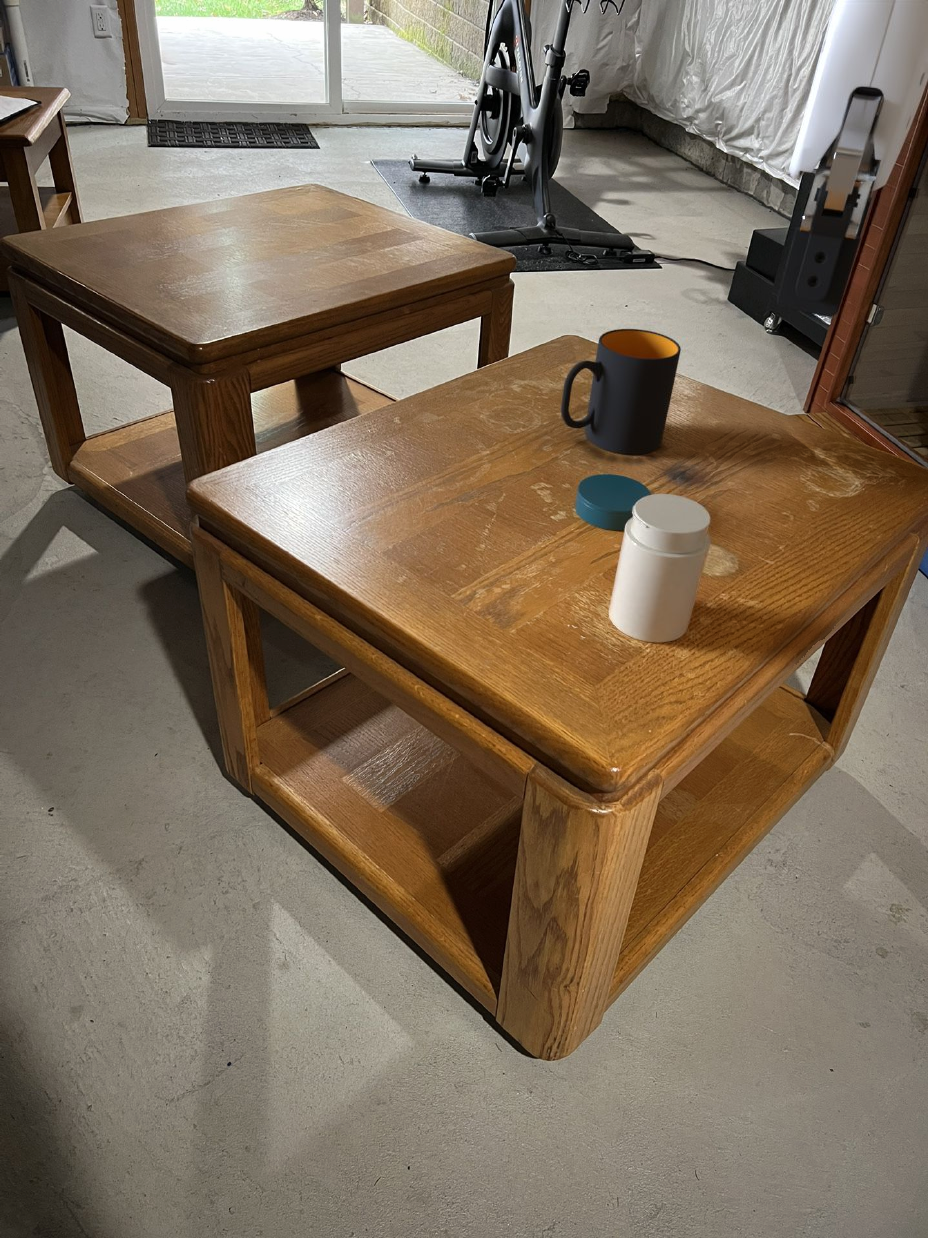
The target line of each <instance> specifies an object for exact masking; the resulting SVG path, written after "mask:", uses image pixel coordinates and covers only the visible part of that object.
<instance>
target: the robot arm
mask: <svg viewBox="0 0 928 1238" xmlns="http://www.w3.org/2000/svg"><path fill="white" fill-rule="evenodd" d="M927 83H928V0H834V2H833V6H832V9H831V12H830V16H829V20H828V24H827V27H826V31H825V34H824V38H823V42H822V46H821V49H820V53H819V57H818V61H817V64H816V68H815V72H814V75H813V80H812V83H811V88H810V91H809V95H808V99H807V103H806V106H805V109H804V114H803V117H802V121H801V125H800V128H799V132H798V135H797V138H796V139H797V140H796V142H795V146H794V150H793V153H792V157H791V161H790V163H789V168H788V172H789V174H790V176H791V178H793V180H796V181H800V180H801V178H802V177H803V175H804V173H813V172H814V170H815V168H816V167H817V166H818V167H817V169H816V171H815V173H814V174H815V177H814V178H813V182H812V186H811V188H810V189H811V190H810V192H809V196H808V199H807V203H806V206H805V209H804V212H803V216H802V219H801V223H800V226H796V227H795V229H794V234H793V238H792V242H791V245H790V249H789V252H788V256H787V261H786V264H785V267H784V271H783V275H782V279H781V283H780V287H779V289H778V295H777V298H776V303H777V305H778V307H780V308H782V309H787V310H792V311H797V312H803V313H808V314H812V315H819V316H824V317H834V316H836V315H837V314H838V313H839V310H840V307H841V304H842V301H843V297H844V294H845V291H846V288H847V284H848V281H849V278H850V275H851V272H852V268H853V265H854V262H855V259H856V255H857V252H858V249H859V245H860V242H861V239H862V236H861V235H862V232H863V229H864V225H865V222H866V219H867V216H868V213H869V210H870V206H871V202H872V200H873V197H872V196H869V195H870V192H874V191H876V190H879V189H881V188H882V187H884V186H885V185H887V182H888V180H889V177H890V175H891V173H892V171H893V169H894V166H895V164H896V162H897V160H898V157H899V155H900V153H901V152H902V151H901V150H902V148H903V147H904V146H903V145H904V144H905V141H906V140H907V139H906V138H907V137H908V134H909V132H910V130H911V127H912V124H913V121H914V120H915V116H916V114H917V110H918V108H919V106H920V103H921V100H922V97H923V94H924V92H925V89H926V86H927Z"/></svg>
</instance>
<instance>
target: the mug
mask: <svg viewBox="0 0 928 1238" xmlns="http://www.w3.org/2000/svg"><path fill="white" fill-rule="evenodd" d="M681 351H682V350H681V345H680V344H679V342H677V341H676V340H675V339H673V338H671V337H669V336H667V335H666V334H665V335H664V334H662V333H658V332H656V331H651V330H647V329H638V328H618V329H612V330H608V331H606V332H604V333H602V334H601V335H600V336H599V338H598V342H597V348H596V356H595V361H592V360H582V361H579V362H578V363H576V364H575V365H573V367H572V368H571V369H570V370H569V372H568V374H566V375H567V376H566V378H565V379H564V383H563V390H562V396H561V404H560V414H561V418H562V421H563V422H564V424H565V425H566V426H567V427H568V428H572V429H582V428H584V435H585V438H586V439H587V441H588V442H590V444H592V445H593V446H595V447H597V448H598V449H601V450H604V451H607V452H610V453H614V454H620V455H627V456H635V455H636V456H638V455H644V454H649V453H653V452H654V451H656V450H657V449H659V448H660V446H662V443H663V437H664V432H665V428H666V423H667V419H668V415H669V409H670V405H671V401H672V400H671V399H672V394H673V390H674V386H675V380H676V375H677V372H678V371H677V370H678V366H679V361H680V356H681ZM585 369H587V370H589V371H590V372H591V373H592V382H591V389H590V394H589V402H588V406H587V408H588V409H587V413H586V414H587V415H586V416H585V417H584V418H583V419H580V420H574V419H573V418H572V416H571V415H570V404H571V403H570V402H571V395H572V388H573V383H574V381H575V379H576V377H577V376H578V374H579V373H581V372H582V371H583V370H585Z"/></svg>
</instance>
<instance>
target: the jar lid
mask: <svg viewBox="0 0 928 1238" xmlns="http://www.w3.org/2000/svg"><path fill="white" fill-rule="evenodd" d="M576 491H577V492H576V498H575V504H574V505H575V506H574V509H575V512H576V514H577V516H578V517H579V518H580V519H581V520H582V521H584V522H586V523H588V524H589V525H591V526H593V527H596V528H599V529H603V530H607V531H619V532H622V531H624V530H625V526H626V523H627V522H628V521H629V520H630V519H631V518H632V517H633V514H632V510H633V506H634V505H635V504H636V502H638V501H639V500H640V499H641V498H643V497H646V496H649V495H652V491H650V490H649V488H648V487H647V485H644V484H643V483H642V482H640V481H638V480H636V479H634V478H631V477H628V476H624V475H621V474H612V473H600V474H593V475H590V476H587V477H585V478H583V479H582V480H581V481H580V482H579V484H578V485H577V490H576Z"/></svg>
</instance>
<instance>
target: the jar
mask: <svg viewBox="0 0 928 1238" xmlns="http://www.w3.org/2000/svg"><path fill="white" fill-rule="evenodd" d="M632 514H633V517H632V518H631V519H630V520H629V521H628V522H627V523H626V526H625V530H623V534H622V535H623V536H622V541H621V546H620V551H619V557H618V562H617V567H616V572H615V575H614V576H615V577H614V580H613V581H614V582H613V586H612V591H611V596H610V597H611V598H610V601H609V606H608V617H609V620H610V622H611V624H613V626H614V627H615V628H616V629H617V630H619V631H620V632H621V633H623V634H624V635H626V636H628V637H631V638H632V639H635V640H638V641H642V642H646V643H657V644H659V643H669V642H672V641H673V642H674V641H675V640H678V639H680V638H681V637H683V636H684V635H685V634H686V633H687V631H688V630H689V626H690V623H691V619H692V615H693V612H694V607H695V604H696V600H697V596H698V592H699V588H700V586H701V585H700V584H701V582H702V581H701V580H702V577H703V574H704V569H705V566H706V562H707V558H708V555H709V550H710V547H711V540H712V539H711V536H710V533H709V528H710V525H711V521H712V519H711V515H710V513H709V511H708V510H707V509H706V508H705V507H704V506H703V505H702V504H700V503H698V502H697V501H695V500H693V499H691V498H688V497H684V496H681V495H678V494H677V495H676V494H672V493H671V494H670V493H656V494H651V495H649V496H646V497H643V498H641V499H640V500H639V501H638V502H636V504H635V505H634V506H633V510H632Z"/></svg>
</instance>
